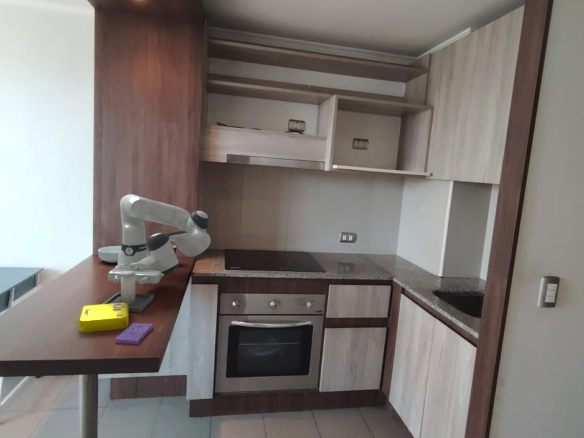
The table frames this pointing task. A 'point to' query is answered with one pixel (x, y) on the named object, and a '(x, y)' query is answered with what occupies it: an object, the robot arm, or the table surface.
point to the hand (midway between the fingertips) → (127, 281)
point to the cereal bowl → (109, 253)
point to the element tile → (104, 317)
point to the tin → (128, 287)
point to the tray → (138, 306)
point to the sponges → (134, 333)
